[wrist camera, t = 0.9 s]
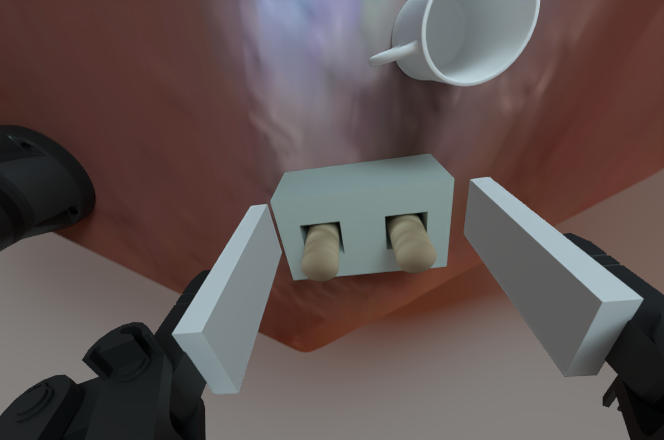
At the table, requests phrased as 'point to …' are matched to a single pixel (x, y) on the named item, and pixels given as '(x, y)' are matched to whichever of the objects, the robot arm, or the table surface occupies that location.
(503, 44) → the mug
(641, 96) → the table surface
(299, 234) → the socket block
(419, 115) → the table surface
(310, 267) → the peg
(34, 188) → the robot arm
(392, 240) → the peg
